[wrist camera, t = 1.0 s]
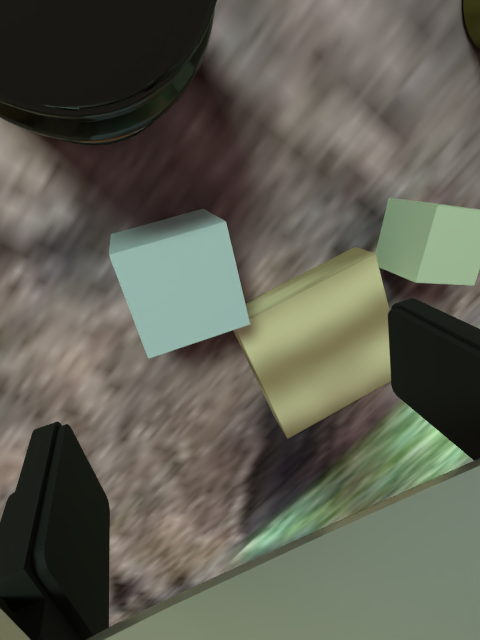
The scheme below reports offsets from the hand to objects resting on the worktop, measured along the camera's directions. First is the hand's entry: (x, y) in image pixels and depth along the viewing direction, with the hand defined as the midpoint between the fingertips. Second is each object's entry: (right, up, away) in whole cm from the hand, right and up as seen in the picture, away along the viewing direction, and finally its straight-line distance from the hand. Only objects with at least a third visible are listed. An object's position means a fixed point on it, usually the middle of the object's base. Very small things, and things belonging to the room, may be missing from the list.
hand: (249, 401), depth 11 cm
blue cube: (-5, +6, +15) cm, 17 cm away
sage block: (+13, +9, +19) cm, 25 cm away
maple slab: (+5, +1, +21) cm, 22 cm away
